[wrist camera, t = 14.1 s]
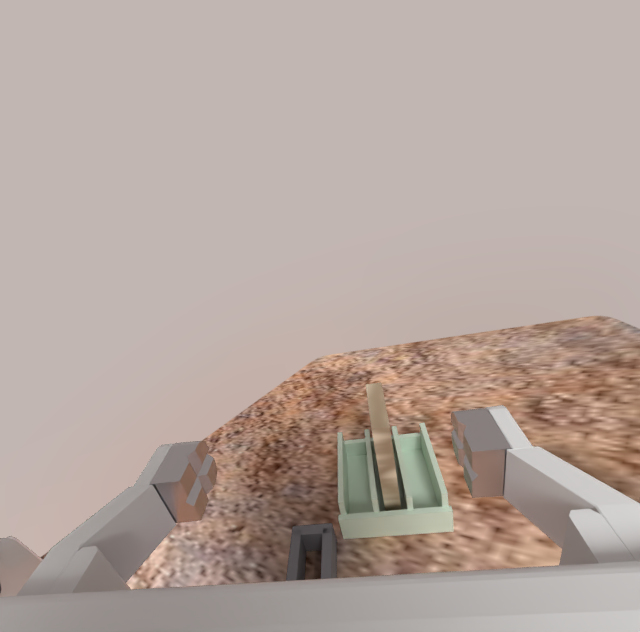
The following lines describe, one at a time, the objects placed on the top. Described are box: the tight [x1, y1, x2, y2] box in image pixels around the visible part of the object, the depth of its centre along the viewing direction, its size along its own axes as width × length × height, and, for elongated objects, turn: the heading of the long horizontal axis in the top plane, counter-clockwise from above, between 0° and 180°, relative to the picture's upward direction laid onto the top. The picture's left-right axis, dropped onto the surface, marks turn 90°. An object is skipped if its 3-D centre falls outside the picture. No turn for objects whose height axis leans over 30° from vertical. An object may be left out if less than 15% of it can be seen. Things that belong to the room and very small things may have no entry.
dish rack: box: [338, 423, 454, 539], centre depth 40 cm, size 12×11×6 cm
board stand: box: [286, 523, 337, 581], centre depth 32 cm, size 4×10×3 cm, turn 177°
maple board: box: [366, 383, 401, 511], centre depth 38 cm, size 2×7×13 cm, turn 177°
